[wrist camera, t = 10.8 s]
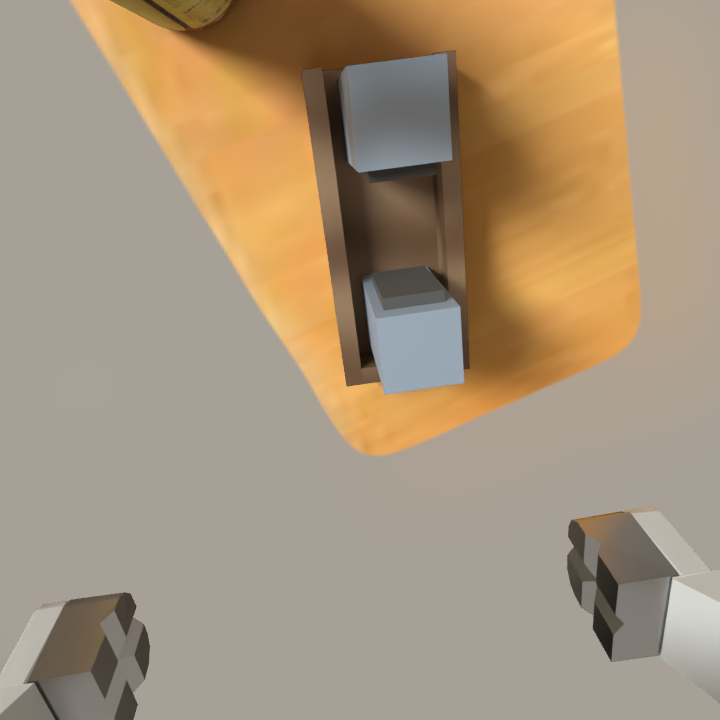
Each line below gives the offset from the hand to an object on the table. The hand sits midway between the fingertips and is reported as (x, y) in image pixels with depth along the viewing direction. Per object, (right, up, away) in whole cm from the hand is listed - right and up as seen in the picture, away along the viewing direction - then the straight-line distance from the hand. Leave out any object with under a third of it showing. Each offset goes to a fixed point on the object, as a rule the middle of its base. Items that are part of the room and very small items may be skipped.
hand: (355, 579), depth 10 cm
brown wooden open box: (+2, +12, +23) cm, 26 cm away
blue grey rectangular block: (+2, +8, +24) cm, 25 cm away
